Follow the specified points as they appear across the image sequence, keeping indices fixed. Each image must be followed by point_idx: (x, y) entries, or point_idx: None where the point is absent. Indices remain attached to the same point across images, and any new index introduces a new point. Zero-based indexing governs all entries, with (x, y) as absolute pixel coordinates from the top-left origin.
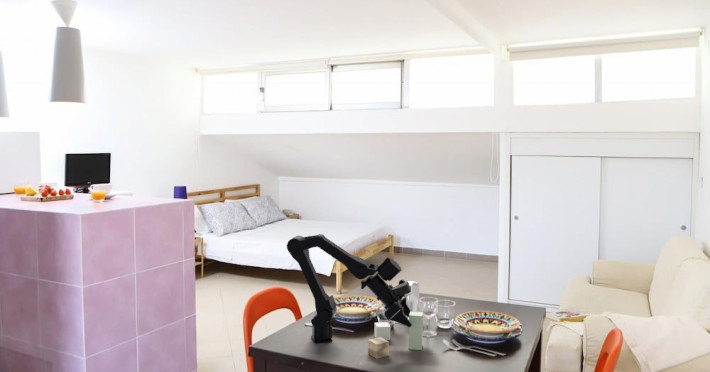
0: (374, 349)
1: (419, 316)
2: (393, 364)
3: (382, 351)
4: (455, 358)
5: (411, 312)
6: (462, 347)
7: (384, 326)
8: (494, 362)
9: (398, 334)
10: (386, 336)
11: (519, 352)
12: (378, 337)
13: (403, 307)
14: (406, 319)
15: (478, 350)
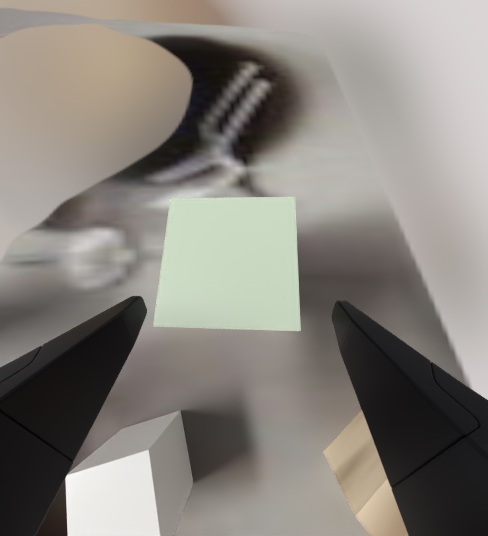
0: None
1: (294, 224)
2: (454, 374)
3: None
4: (317, 168)
5: (190, 310)
6: (221, 152)
7: (147, 496)
8: (316, 82)
9: None
10: (177, 439)
11: (232, 38)
12: (369, 531)
13: (33, 430)
14: (414, 356)
15: (237, 115)
